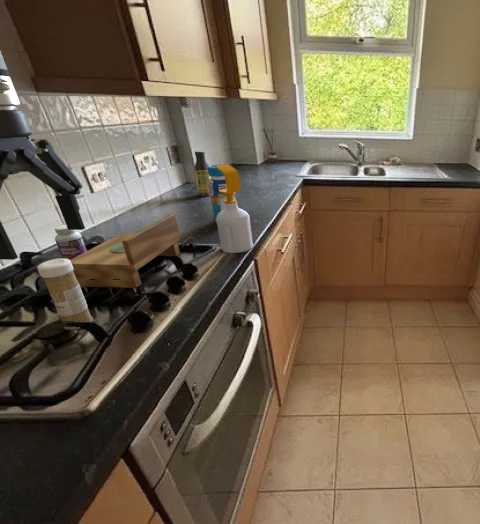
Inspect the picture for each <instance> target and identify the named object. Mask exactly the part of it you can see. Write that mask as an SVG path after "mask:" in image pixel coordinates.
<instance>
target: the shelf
mask: <svg viewBox="0 0 480 524" xmlns="http://www.w3.org/2000/svg"><path fill="white" fill-rule="evenodd" d="M179 241H181V238H180V230H179V225H178V222H177V217H176V214H175V213H170V214H168V215H166V216H164V217H162V218H161V219H159V220H156V221H155V222H153V223H151V224H150V225H148V226H146V227H144V228H142V229H141V230H139V231H137V232H121V233H119V234H118V235H115V236H114V237H111V238H110V239H108V240H106V241H104V242H102V243H100V244H98V245H96V246H94V247H91V248H90V249H89V250H87V252H85V253H83V254H81V255H79V256H77V257H75V258H73V259H71V260H70V261H71V263H72V266H73V270H74V271H73V272H74V274H75V277H76V279H77V281H78V283H79V285H80V287H91V288H92V287H93V288H95V287H97V288H135V289H136V288H138V287H139V286H141V285H142V280H141V277H140V274H139V271H138V270H139V269H141V268H142V267H144V266H145V265H147V264H148V263H150V262H151V261H152V260H154V259H155V258H157V257H177V256H179V255H181V251H180V247H179V243H178V242H179ZM90 279H95V280H90ZM113 279H120V280H113Z"/></svg>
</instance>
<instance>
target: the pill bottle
mask: <svg viewBox="0 0 480 524" xmlns="http://www.w3.org/2000/svg"><path fill="white" fill-rule="evenodd" d="M54 231H55V233H56V235H55V236H54V241H55V244H56V246H57V248H58V251H59V253H60V256H61V259H69V260H71V259H73V258H75V257H77V256H79V255H81V254H83V253H85V252H87V251H88V250H87V247H86V245H85V241H84V239H83V237H82V234H81V233H80V232H78V231H77V230H68V228H67V225H66V224H61V225H57V226H55V227H54Z"/></svg>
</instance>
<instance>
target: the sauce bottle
mask: <svg viewBox="0 0 480 524" xmlns="http://www.w3.org/2000/svg"><path fill="white" fill-rule="evenodd" d="M194 155H195V164H194V174H195V182H196V187H197V192H198V196H200V197H210V194H209V192H210V189H209V187H208V185H209V181H210V179H211V177H210V176H209V174H208V169H207V168H208V166H210V165H209V164H208V162H207V161H206V153H205V150H195V151H194Z"/></svg>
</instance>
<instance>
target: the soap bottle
mask: <svg viewBox="0 0 480 524" xmlns="http://www.w3.org/2000/svg"><path fill="white" fill-rule="evenodd" d="M217 165H218V166H216V168H217V169H218V170H219V171H221V172H222V173H223V174H224V176H225V181H226V187H227V189H222V190H219V192H221V193H224V195H225V196H227V200H224V202H225V209H224V210H222V211H221V212H220V213H219V214H218V215H217V218H216V221H217V223H216V225H217V231H218V237H219V242H220V243H219V244H220V248H221V250H222V251H223V252H224V253H227V254H242V253H245V252H247V251H250V250H252V249H253V247H254V241H253V240H254V239H253V234H252V233H253V232H252V227H251V218H250V215H249V213H248V211H246V210H244V209H242V208H240V207H238V202H237V198H235V199H233V195H235V196H236V193H237V192H238V193H239V192H241V190H242V188H241V181H240V180H241V179H240V173H239V171H238V170H237V169H236V168H235V167H233V166H232V165H230V164H217ZM234 192H235V194H234Z"/></svg>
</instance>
